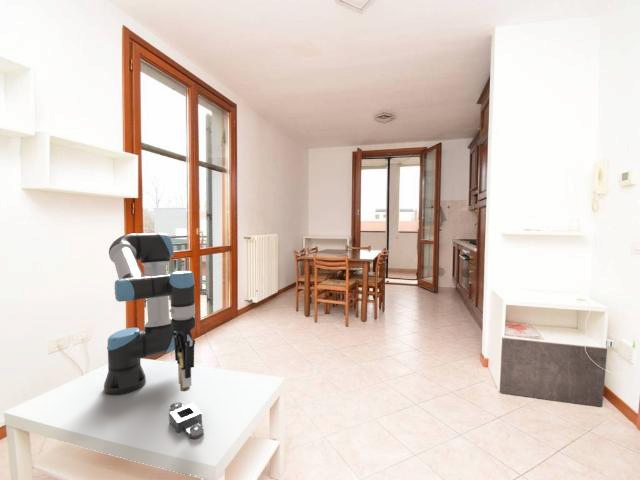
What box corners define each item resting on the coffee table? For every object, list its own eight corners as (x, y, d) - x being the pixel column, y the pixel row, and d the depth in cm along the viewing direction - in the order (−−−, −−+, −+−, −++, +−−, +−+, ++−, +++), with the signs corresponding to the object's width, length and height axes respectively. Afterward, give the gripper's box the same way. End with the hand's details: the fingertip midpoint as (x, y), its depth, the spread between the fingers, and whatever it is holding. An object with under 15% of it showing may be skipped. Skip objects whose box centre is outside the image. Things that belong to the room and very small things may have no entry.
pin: (177, 389, 110) (175, 352, 110) (188, 385, 113) (187, 348, 112) (181, 393, 107) (180, 355, 107) (193, 389, 110) (192, 352, 109)
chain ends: (162, 413, 116) (162, 403, 116) (185, 404, 122) (185, 395, 122) (186, 443, 100) (185, 433, 100) (210, 432, 106) (210, 422, 106)
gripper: (163, 314, 112) (165, 379, 113) (180, 324, 101) (182, 397, 102) (185, 310, 117) (187, 373, 119) (203, 319, 106) (205, 389, 107)
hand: (184, 384), depth 110 cm, fingers closed on pin, 3 cm apart
